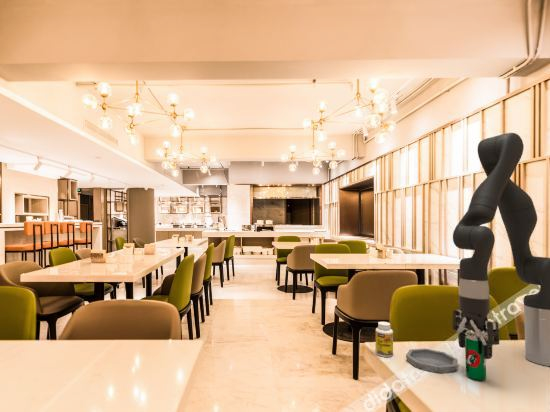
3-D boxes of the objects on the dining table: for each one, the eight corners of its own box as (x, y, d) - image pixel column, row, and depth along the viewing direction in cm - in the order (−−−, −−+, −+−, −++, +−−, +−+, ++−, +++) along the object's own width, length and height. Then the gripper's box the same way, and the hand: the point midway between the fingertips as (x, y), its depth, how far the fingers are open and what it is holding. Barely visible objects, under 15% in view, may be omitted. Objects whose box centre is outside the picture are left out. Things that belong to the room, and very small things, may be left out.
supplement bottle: (375, 356, 108) (374, 324, 108) (376, 350, 113) (376, 320, 114) (393, 358, 106) (392, 326, 106) (393, 352, 111) (393, 322, 112)
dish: (435, 353, 111) (435, 347, 111) (468, 371, 97) (467, 364, 98) (398, 355, 108) (398, 350, 108) (426, 374, 95) (426, 368, 95)
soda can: (489, 382, 90) (488, 338, 91) (469, 380, 91) (468, 336, 92) (482, 374, 95) (481, 332, 96) (463, 372, 96) (462, 331, 97)
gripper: (506, 300, 89) (507, 362, 87) (465, 290, 102) (466, 343, 101) (482, 300, 87) (483, 363, 86) (444, 290, 101) (445, 344, 100)
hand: (474, 352), depth 94 cm, fingers open, 8 cm apart
